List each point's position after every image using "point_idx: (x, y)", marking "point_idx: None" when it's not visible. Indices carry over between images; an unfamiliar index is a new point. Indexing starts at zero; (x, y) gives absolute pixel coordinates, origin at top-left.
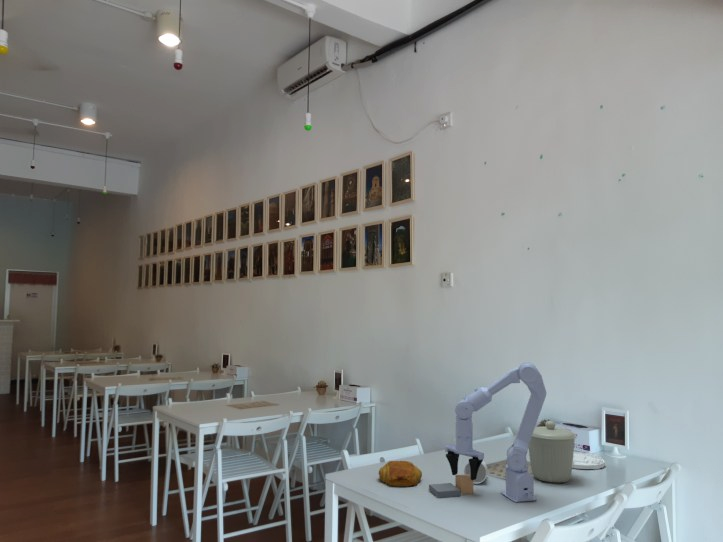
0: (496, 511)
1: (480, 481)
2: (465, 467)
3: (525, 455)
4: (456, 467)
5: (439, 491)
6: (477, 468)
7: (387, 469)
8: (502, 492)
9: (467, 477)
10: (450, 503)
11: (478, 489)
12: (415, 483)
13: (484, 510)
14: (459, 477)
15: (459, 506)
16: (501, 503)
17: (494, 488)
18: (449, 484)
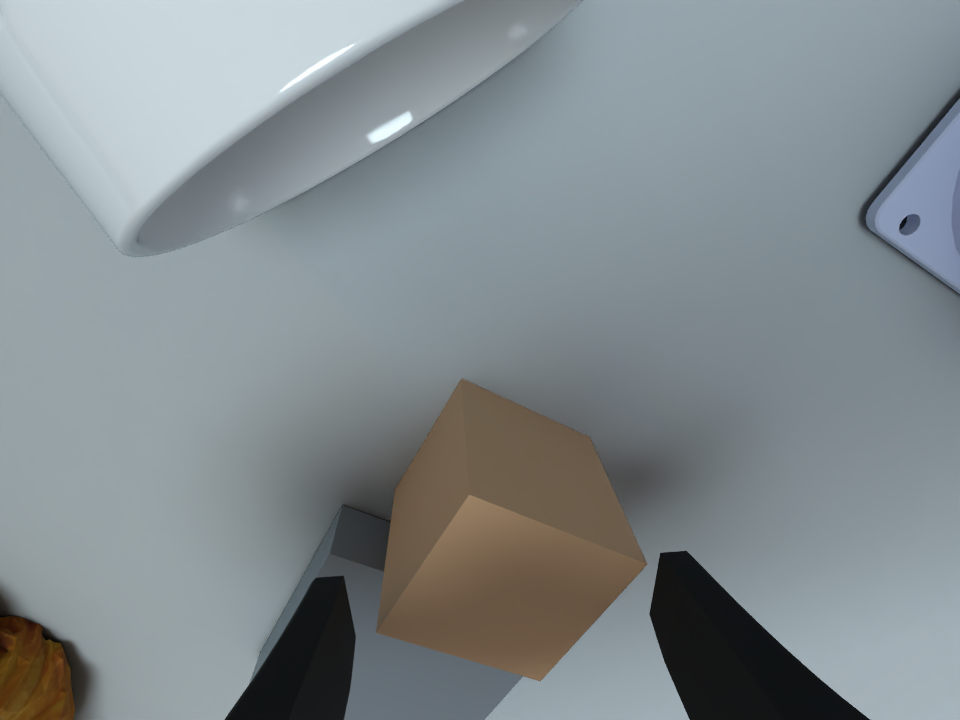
0: (929, 615)
1: (444, 38)
2: (151, 251)
3: None
4: (317, 693)
5: None
6: (817, 715)
7: None
8: (897, 217)
9: (566, 596)
10: (584, 708)
11: (564, 293)
12: (65, 681)
13: (844, 652)
14: (486, 658)
15: (664, 704)
16: (933, 469)
17: (713, 73)
18: (363, 593)
